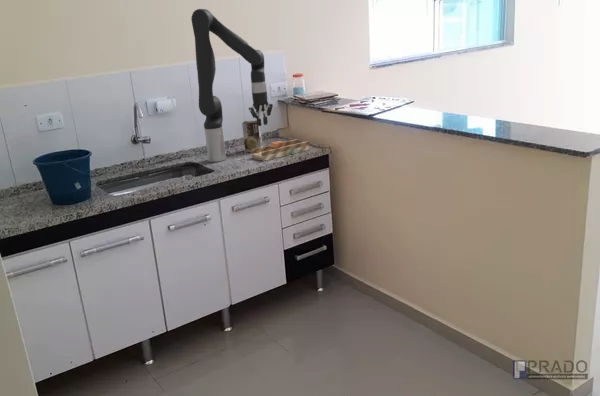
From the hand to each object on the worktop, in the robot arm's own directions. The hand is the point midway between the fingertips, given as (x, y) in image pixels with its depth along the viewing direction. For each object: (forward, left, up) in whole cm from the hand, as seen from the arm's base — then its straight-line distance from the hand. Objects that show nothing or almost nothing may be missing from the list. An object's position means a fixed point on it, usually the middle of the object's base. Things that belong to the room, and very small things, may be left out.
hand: (262, 125), depth 281 cm
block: (+7, +4, -15) cm, 17 cm away
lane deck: (+9, +5, -17) cm, 20 cm away
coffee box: (-5, +20, -17) cm, 27 cm away
